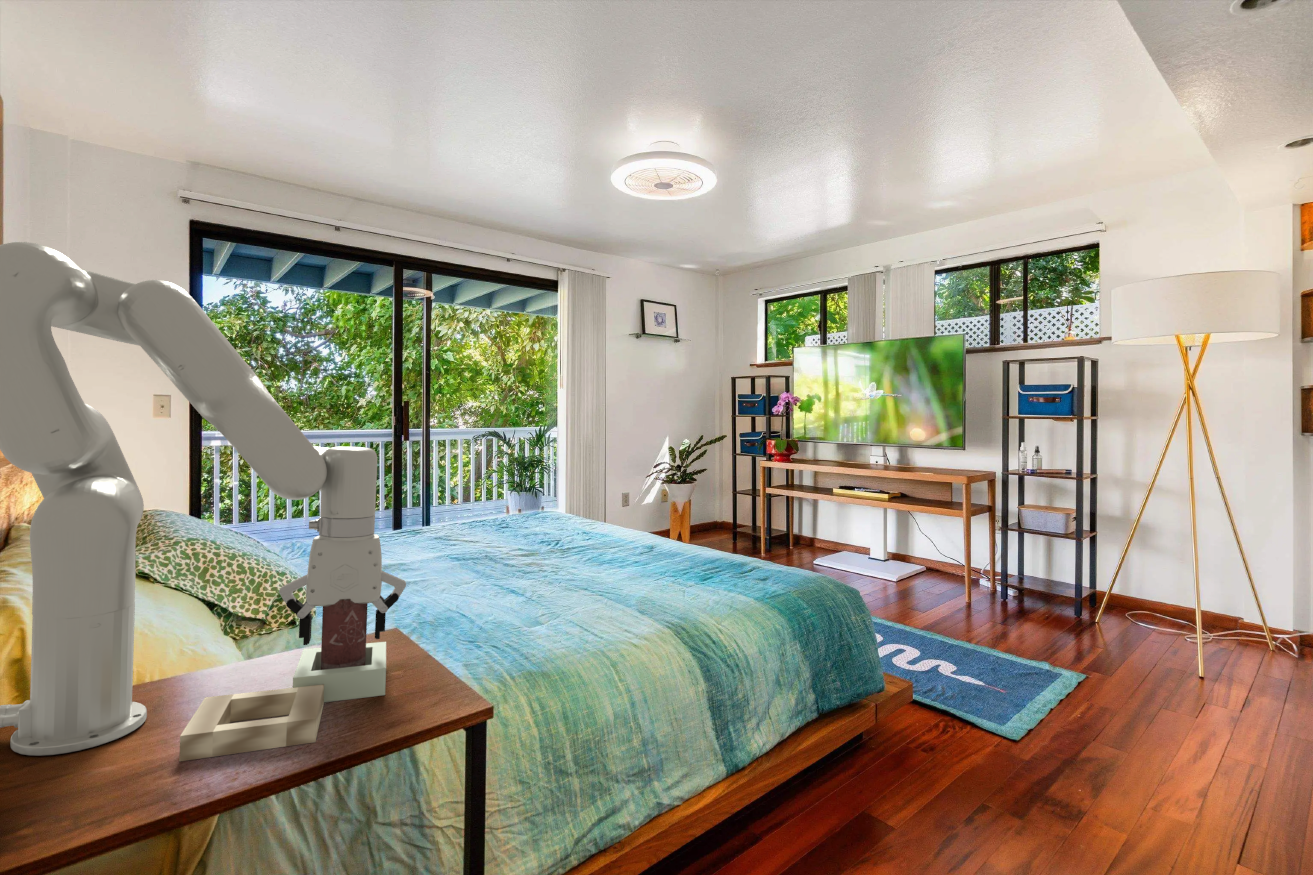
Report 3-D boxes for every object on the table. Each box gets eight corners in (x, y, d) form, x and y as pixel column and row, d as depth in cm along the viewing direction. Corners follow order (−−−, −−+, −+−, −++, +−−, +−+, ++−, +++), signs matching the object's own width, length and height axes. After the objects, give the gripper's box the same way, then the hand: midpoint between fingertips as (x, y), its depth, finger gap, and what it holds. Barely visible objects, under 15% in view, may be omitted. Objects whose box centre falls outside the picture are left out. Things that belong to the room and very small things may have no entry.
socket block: (179, 761, 73) (180, 735, 73) (204, 719, 83) (205, 697, 83) (315, 742, 78) (316, 718, 78) (323, 705, 88) (324, 684, 88)
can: (373, 677, 98) (376, 589, 98) (349, 694, 92) (353, 600, 92) (337, 674, 99) (340, 586, 99) (311, 691, 93) (314, 597, 93)
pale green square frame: (292, 706, 88) (293, 677, 88) (302, 674, 99) (303, 648, 99) (385, 694, 93) (386, 668, 93) (385, 665, 104) (386, 641, 104)
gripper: (278, 532, 89) (273, 653, 89) (409, 530, 95) (404, 642, 96) (285, 524, 95) (281, 636, 96) (407, 522, 102) (403, 627, 102)
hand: (342, 639), depth 96 cm, fingers open, 9 cm apart
